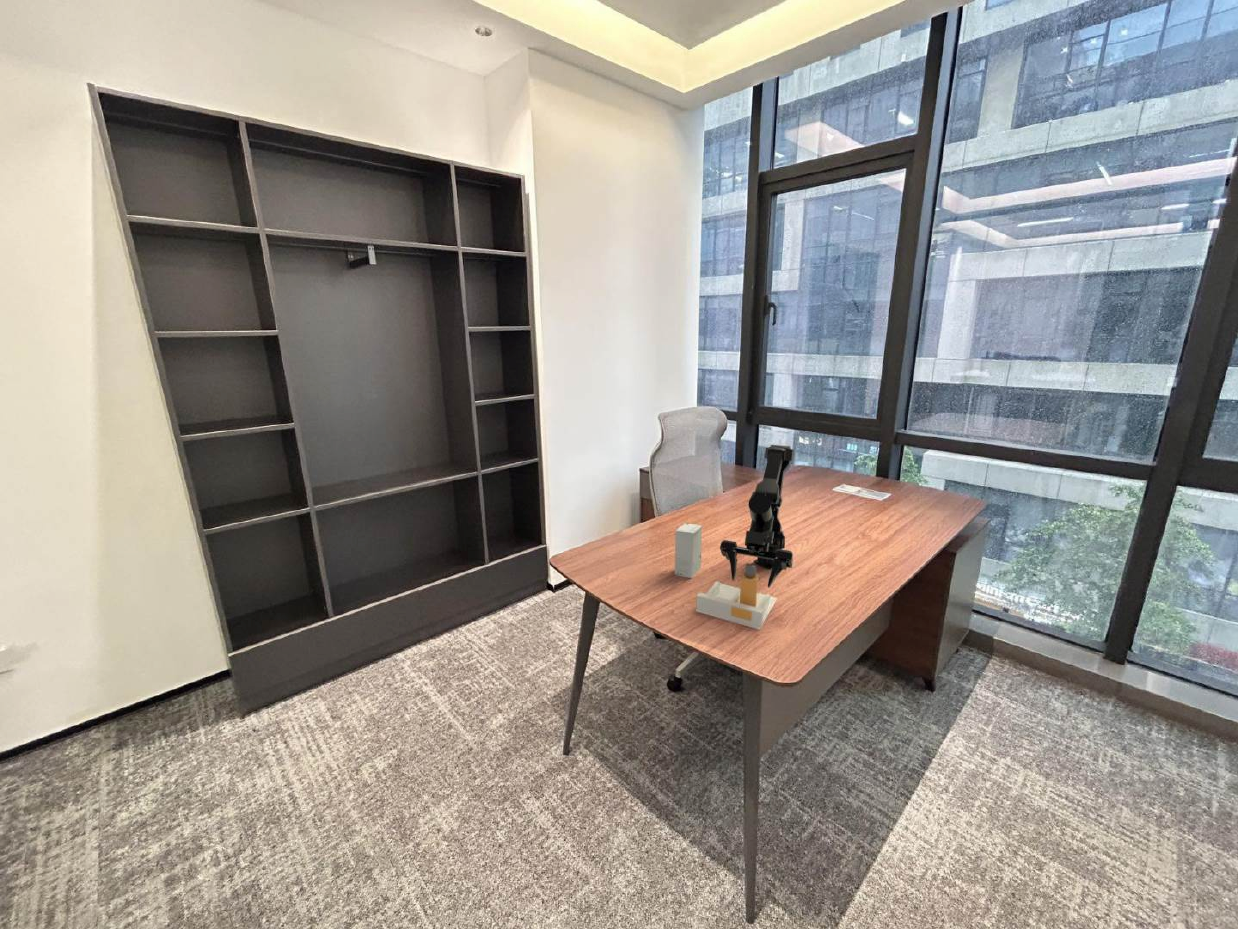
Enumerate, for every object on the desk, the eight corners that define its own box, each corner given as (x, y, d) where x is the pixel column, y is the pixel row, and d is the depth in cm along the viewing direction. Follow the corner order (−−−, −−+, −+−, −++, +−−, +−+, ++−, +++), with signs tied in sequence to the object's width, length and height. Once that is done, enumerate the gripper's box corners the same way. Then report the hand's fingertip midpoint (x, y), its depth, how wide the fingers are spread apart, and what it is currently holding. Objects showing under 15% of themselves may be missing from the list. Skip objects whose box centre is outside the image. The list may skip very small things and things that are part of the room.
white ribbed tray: (718, 584, 147) (719, 570, 146) (777, 599, 138) (778, 584, 137) (695, 612, 132) (695, 597, 131) (759, 631, 123) (760, 615, 122)
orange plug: (740, 605, 134) (743, 561, 131) (756, 608, 133) (759, 563, 130) (738, 613, 130) (741, 567, 127) (754, 616, 129) (758, 570, 126)
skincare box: (691, 580, 150) (693, 533, 146) (673, 575, 153) (674, 530, 149) (701, 569, 157) (703, 524, 153) (683, 565, 160) (684, 521, 156)
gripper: (723, 512, 135) (710, 566, 129) (795, 522, 128) (786, 580, 121) (728, 529, 144) (717, 580, 137) (796, 540, 137) (787, 594, 130)
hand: (750, 583), depth 131 cm, fingers open, 9 cm apart
